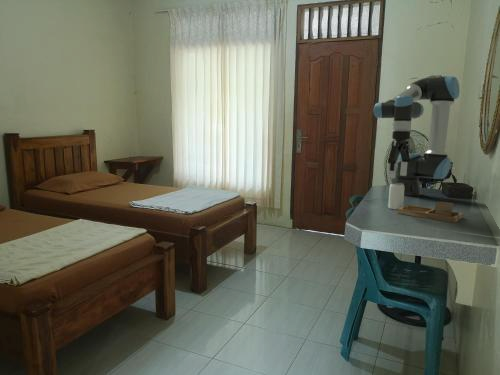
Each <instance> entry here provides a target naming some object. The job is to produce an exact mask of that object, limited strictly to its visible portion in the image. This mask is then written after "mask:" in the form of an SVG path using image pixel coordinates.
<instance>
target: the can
mask: <svg viewBox="0 0 500 375" xmlns="http://www.w3.org/2000/svg"><path fill="white" fill-rule="evenodd" d="M388 192H389V193H388V205H387V207H388V209H389V210H393V211H394V210H398V209H399V208H401V207H404V198H405V195H404V184H403V183H396V182H391V183H390V185H389V191H388Z"/></svg>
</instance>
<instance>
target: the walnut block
mask: <svg viewBox="0 0 500 375" xmlns="http://www.w3.org/2000/svg"><path fill="white" fill-rule="evenodd" d="M453 207H454V203H452V202H444V201H437V202H436V203H435V208H434V209H435V214H437V215H444V216H450V217H452V212H453V209H454V208H453Z"/></svg>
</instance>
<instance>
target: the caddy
mask: <svg viewBox="0 0 500 375" xmlns="http://www.w3.org/2000/svg"><path fill="white" fill-rule="evenodd" d="M397 214H400V215H406V216H411V217H417V218H423V219H428V220H429V219H430V220H435V221H441V222H446V223H447V222H448V223H454V224H455V223H456V222H458V221H459V220H461V219H463V216H464V213H463V212H458V211H452V217H450V216H444V215H437V214H435V208H430V207H425V206H424V207H423V206H417V205H413V204H412V205H411V204H406V205H403V207H401V208H399V209H397Z"/></svg>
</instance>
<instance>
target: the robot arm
mask: <svg viewBox="0 0 500 375" xmlns="http://www.w3.org/2000/svg"><path fill="white" fill-rule="evenodd" d="M460 92H461V91H460V82H459V80H458V78H457V77H456V76H453V75H452V76H449V75H448V76H447V75H446V76H435V77H434V76H433V77H425V78H421V79H418V80H415V81H413V82H412V83H409V84H408V85H407V86H405V88H404V90H402V91H401V92H399V93H397V94H396V95H394V96H393V97H391V98H390V99H388V100H386V101H384V102H382V101H381V102H377V103H375V105H373V106H374V107H373V115H374V117H375V118H378V119H393V123H392V126H393V128H392V129H393V131H392V137H391V139H392V140H394V141H392V142H391V148H390V151H389V155H388V159H387V163H388V164H389V170H388V178H389V179H396V180H395V183H403V184H404V197H417V196H421V195H422V190H421V185H420V182H419V180H420V178H426V179H437V180H441V179H445V178H446V177H447V176H448V174H449V172H450V169H451V165H452V163H451V162H452V160H451V158H450V157H448V153H447V152H446V145H447V136H448V128H449V119H450V112H451V107H452V105H453V104H454V103H455V100H457V99H459V97H460ZM421 100H427V101H428V100H429V103H430V104H431V106H432V107H431V117H430V123H429V124H430V125H429V134H428V142H427V150H426V151H425V152H424V153H423V155H422V154H421V153H420V152H417V153H410V149H409V148H410V147H409V140H410V139H411V131H410V130H412V119H414V120H415V119H417V118H420V117H421V116H422V115H423V114H424V111H425V109H424V106H423V104H422V103H421V102H418V101H421ZM407 140H408V141H407ZM397 160H398V161H397Z"/></svg>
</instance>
